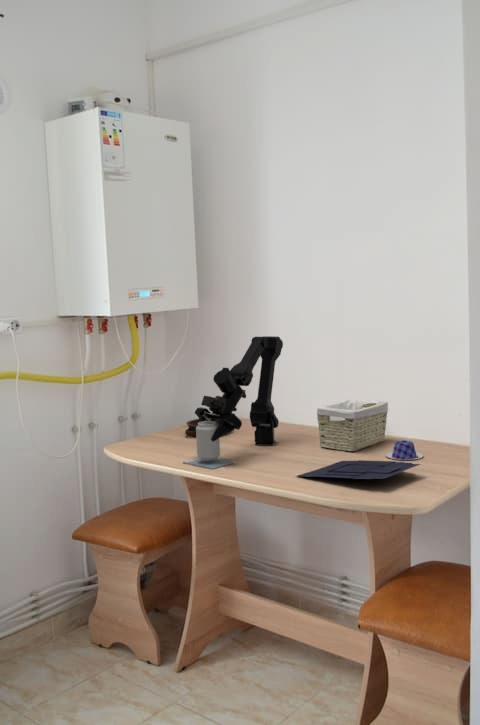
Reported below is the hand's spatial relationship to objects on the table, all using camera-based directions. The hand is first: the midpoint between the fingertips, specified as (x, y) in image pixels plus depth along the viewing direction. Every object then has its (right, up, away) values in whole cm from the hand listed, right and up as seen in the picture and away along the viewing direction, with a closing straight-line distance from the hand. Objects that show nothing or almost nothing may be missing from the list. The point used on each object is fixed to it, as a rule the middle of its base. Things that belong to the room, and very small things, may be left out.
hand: (204, 439), depth 249 cm
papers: (+47, -10, -20) cm, 52 cm away
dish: (0, -3, +50) cm, 50 cm away
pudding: (+66, -7, +2) cm, 66 cm away
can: (+1, -7, +2) cm, 7 cm away
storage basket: (+52, -4, +22) cm, 57 cm away
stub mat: (+1, -8, +2) cm, 8 cm away
